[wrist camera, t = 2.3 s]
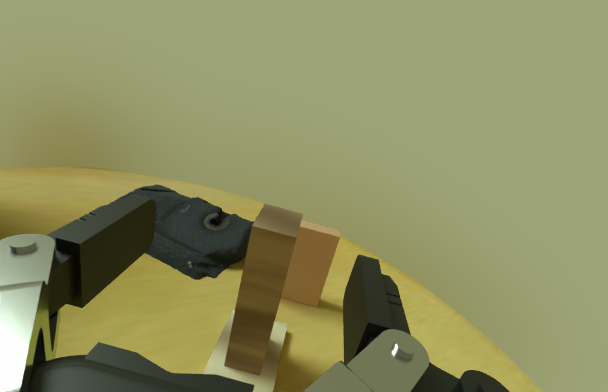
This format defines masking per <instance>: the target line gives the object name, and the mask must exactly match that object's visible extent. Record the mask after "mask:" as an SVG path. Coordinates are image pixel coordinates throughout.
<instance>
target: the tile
mask: <svg viewBox="0 0 608 392" xmlns="http://www.w3.org/2000/svg"><path fill="white" fill-rule="evenodd" d="M339 239H340V230H336V229H332V228H329V227H325V226H321V225H317V224H314V223H310V222H307V221H303V220H301V224H300V227H299V231H298V235H297V239H296V242H295V246H294V250H293V254H292V257H291V261H290V265H289V269H288V272H287V276H286V280H285V284H284V287H283V291H282V295H281V298H284V299H288V300H292V301H295V302H299V303H303V304H306V305H310V306H314V307H317V306H318V303H319V300H320V296H321V293H322V290H323V287H324V284H325V281H326V278H327V275H328V272H329V269H330V266H331V263H332V260H333V257H334V254H335V251H336V248H337V245H338V242H339Z"/></svg>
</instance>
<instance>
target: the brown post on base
mask: <svg viewBox="0 0 608 392" xmlns="http://www.w3.org/2000/svg"><path fill="white" fill-rule="evenodd" d="M302 216H303V214H301V213H297V212H294V211H290V210H286V209H283V208H279V207H275V206H271V205H268V204H265V205H264V206H263V208H262V210H261V211H260V213H259V215H258V217H257V218H256V220H255V222H254V223H253V225H252V229H251V234H250V239H249V244H248V249H247V254H246V259H245V264H244V269H243V274H242V278H241V283H240V288H239V293H238V298H237V303H236V308H235V310H234V309H232V312H231V314H230V316H229V318H228V320H227V322H226V325H225V327H224V329H223V331H222V333H221V335H220V337H219V340H218V342H217V344H216V346H215V348H214V350H213V353H212V355H211V357H210V359H209V361H208V363H207V366H206V368H205V370H204V372H203V374H216V375H220V376H224V377H227V378H231V379H235V380H238V381H242V382H245V383H249V384H253V385H254V389H253V392H273V390H274V385H275V380H276V376H277V371H278V366H279V361H280V357H281V352H282V347H283V343H284V338H285V333H286V329H287V324H285V323H281V322H277V321H275V317H276V314H277V310H278V306H279V302H280V299H281V295H282V291H283V287H284V284H285V280H286V276H287V272H288V269H289V265H290V261H291V257H292V254H293V250H294V246H295V242H296V239H297V235H298V231H299V227H300V224H301V220H302Z"/></svg>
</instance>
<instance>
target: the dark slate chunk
mask: <svg viewBox="0 0 608 392" xmlns="http://www.w3.org/2000/svg"><path fill="white" fill-rule="evenodd" d="M131 195H138V196H142V197H146V198H150V199H153V200H154V201H155V203H156V214H155V229H154V238H153V241H152V244H151V246H150V247H149V249H148V250H147V251H146V252H145V253H146V254H149V255H151V256H152V257H154V258H156V259H158V260H160V261H162V262H163V263H165V264H167V265H170V266H171V267H173V268H174V269H177V270H179V271H180V272H182V273H183V274H185V275H188V276H190V277H191V278H193V279H198V278H201V277H202V276H203V275H204V276H208V277H212V278H216V277H217V276H218V275H219V274H220V273H221V272H222V271H224V270H225V269H226V268H228V267H229V266H230V265H231V264H234V263H237V262H239V261H241V260H242V259H243V258H245V257H246V254H247V249H248V244H249V239H250V234H251V229H252V225H253V223H254V222H253V221H252V222H251V221H249V220H246V219H243V218H241V217H239V216H238V215H236V214H232V215H230V214H228V213H225V212H223V211H222V208H220V207H218V206H214V205H212V204H210V203H208V202H207V201H205V200H203V199H200V198H198V197H196V198H189V197H186V196H183V195H180V194H178V193H177V192H175V191H173V190H171V189H169V188H166V187H164V186H161V185H154V186H148V187H147V186H145V187H141V188H138V189H135V190H134V191H132V192H130V193H128V194H127V195H125V196H122V197H120V198H119V199H117V200H115V201H114V202H112V203H110V204H113V203H118V202H120V201H122V200H124V199H125V198H127V197H129V196H131ZM108 205H109V204H108Z"/></svg>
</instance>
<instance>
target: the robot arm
mask: <svg viewBox="0 0 608 392" xmlns="http://www.w3.org/2000/svg"><path fill="white" fill-rule="evenodd" d="M155 214H156V203H155V201H154V200H153V199H150V198H146V197H142V196H138V195H131V196H129V197H127V198H125V199H124V200H122V201H120V202H118V203H113V204H109V205H105V206H101V207H99V208H97V209H95V210H93V211H91V212H90V213H89V214H86V215H84V216H82V217H80V218H79V220H78V219H76V220H74V221H73V222H71V223H69V224H67V225H65V226H63V227H61V228H59V229H58V230H56V231H54V232H52V233H50V234H48V235H43V234H20V235H14V236H10V237H7V238H4V239H1V240H0V392H253V389H254V385H253V384H249V383H245V382H242V381H238V380H235V379H231V378H227V377H224V376H220V375H216V374H179V373H170V372H168V371H166V370H164V369H163V368H161V367H159V366H158V365H156V364H154V363H153V362H151V361H149V360H148V359H146V358H145V357H143V356H141V355H140V354H138V353H136V352H132V351H129V350H125V349H121V348H118V347H114V346H110V345H107V344H103V343H99V342H98V343H97V345H96V346H95V347H94V348H93V349H92V350H91V351H90V352H89V353H88V354H87V355H76V356H67V357H61V358H56V359H55V355H56V347H57V339H58V331H59V323H60V308H61V307H63V306H64V305H65V304H69V305H73V306H77V307H80V308H83V307H84V306H85V305H86V304H87V303H89V302H90V301H91V300H92V299H93V298H94V297H95V296H96V295H98V294H99V293H100V292H101V291H102V290H103V289H104V288H105V287H107V286H108V285H109V284H110V283H111V282H112V281H113V280H114V279H116V278H117V277H118V276H119V275H120V274H121V273H122V272H123V271H125V270H126V269H127V268H128V267H129V266H130V265H131V264H132V263H134V262H135V261H136V260H137V259H138V258H139V257H140V256H141V255H143V254H144V253H145V252H146V251H147V250H148V249H149V247H150V246H151V244H152V241H153V238H154V229H155ZM343 324H344V363H343V362H342V361H339V362H337V363H336V364H334V365H333V366H332V367H331V368H330V369H329V370H327V371H326V372H325V373H324V374H323V375H322V376H320V377H319V378H318V379H317V380H316V381H315V382H314V383H312V384H311V385H310V386H309V387H308V388H307V389H306V390H304V391H303V392H509V391H508V390H507V389H506V388H505V387H504V386H503V385H502V384H501V383H500V382H498V381H497V380H495V379H494V378H492V377H491V376H489V375H487V374H485V373H483V372H480V371H476V370H468V371H465V372H464V373H463V374H462V376H461V378H460V379H458V378H456V377H455V376H453V375H451V374H449V373H447V372H445V371H443V370H441V369H440V368H438V367H436V366H434V365H433V364H432V363H430V362H429V356H428V354H427V351H426V350H425V348H424V347H423V346H422V344H421V343H420V342H419V341H418V340H416V339H415V338H414V337H412V336H411V334H410V331H409V327H408V323H407V320H406V316H405V313H404V309H403V307H402V302H401V298H400V295H399V291H398V287H397V285H396V284H395V283H394V281H393V280H392V279H391V278H390V276H387V275H383V274H381V269H380V264H379V260H378V259H374V258H370V257H366V256H363V255H358V256H357V258H356V261H355V264H354V267H353V269H352V272H351V275H350V278H349V281H348V284H347V286H346V290H345V294H344V300H343Z"/></svg>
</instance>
